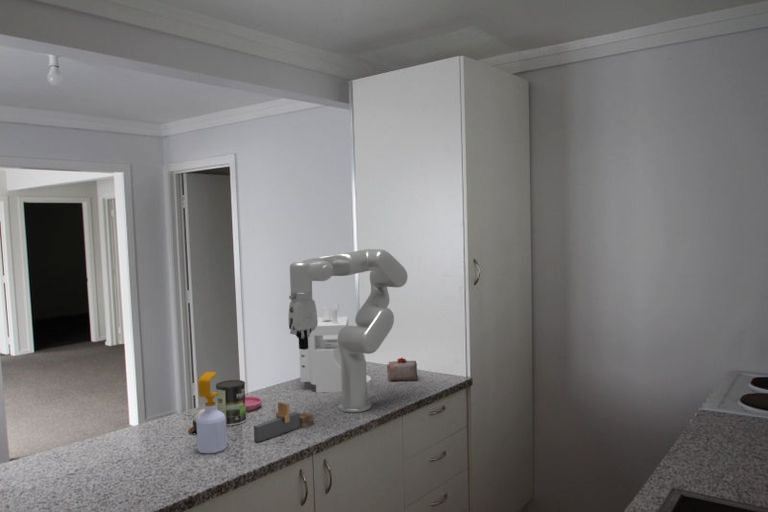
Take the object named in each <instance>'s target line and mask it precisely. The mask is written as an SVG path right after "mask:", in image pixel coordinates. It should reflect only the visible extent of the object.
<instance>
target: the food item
mask: <svg viewBox="0 0 768 512" xmlns="http://www.w3.org/2000/svg"><path fill="white" fill-rule="evenodd" d="M417 370H418V363H417V360H407V359H406V358H403V357H400V358H398V359H397V361H396V360H395V361H389V362H388V363H386V375H387V377H388V381H389V380H416V381H418V380H417V379H418V376H419V375H418V371H417Z"/></svg>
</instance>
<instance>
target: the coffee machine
mask: <svg viewBox="0 0 768 512" xmlns="http://www.w3.org/2000/svg"><path fill="white" fill-rule="evenodd" d="M321 309H322V317H321V316H320V317H318V316H317V321H318V325H317V327H316V328H315V330H314V331H312V332H311V333H310V336H309V337H308V349H305V350H303V349H299V348H298V350H299V352H298V354H299V375H300V383H310V384H311V385H315V392H316V394H320V393H321V392H327V393H342V373H341V355H340V350H339V346H338V338H331V339H330V338H329V339H325V338H324V336H338V334H339V331H340V330H341V329H342V328H343V327H346V326H349V316H348V315H346V316H340V304H339V303H333V308H332V307H331V306H330V305H329V306H322V308H321ZM366 381H367V386H369V385H370V384H372V378H371V376H370V375H369V374H368V375H367V374H366ZM370 386H371V385H370ZM370 386H369V387H370ZM321 394H322V393H321Z"/></svg>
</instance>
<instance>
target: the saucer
mask: <svg viewBox="0 0 768 512" xmlns="http://www.w3.org/2000/svg"><path fill="white" fill-rule="evenodd" d="M245 403H246V413H248V412H247V411H249V412H254V411H256V410H257V408H258V409H259V407H260V406H261V405H262V403H263V399H262V398H261V397H259V396H250V395H249V396H245ZM255 409H256V410H255Z"/></svg>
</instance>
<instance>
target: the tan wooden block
mask: <svg viewBox="0 0 768 512" xmlns="http://www.w3.org/2000/svg"><path fill="white" fill-rule="evenodd" d="M277 409H278V411H277V412H275V415H276V416H275V417H276V418H279V417H281V418H284V423H287V422H290V417H289V414H290V404H289V403H286V402H282V401H278V402H277ZM276 418H275V419H276Z"/></svg>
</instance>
